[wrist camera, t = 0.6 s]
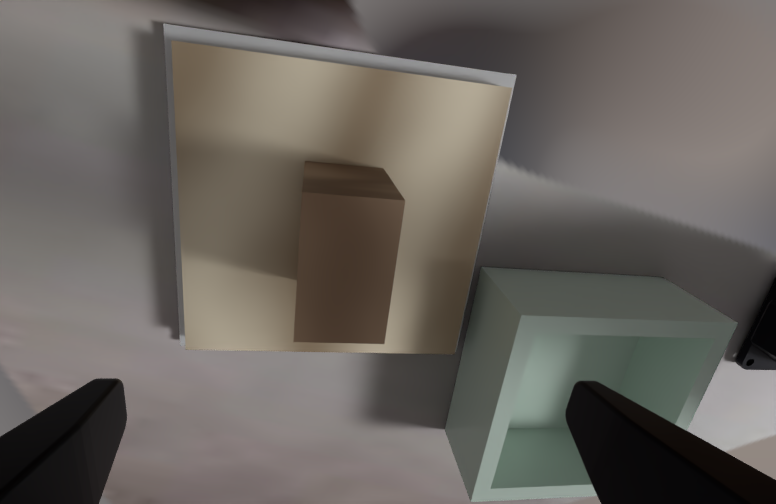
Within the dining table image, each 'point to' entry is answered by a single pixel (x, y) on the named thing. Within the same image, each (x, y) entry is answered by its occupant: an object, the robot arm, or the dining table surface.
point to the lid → (328, 201)
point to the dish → (569, 370)
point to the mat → (312, 54)
